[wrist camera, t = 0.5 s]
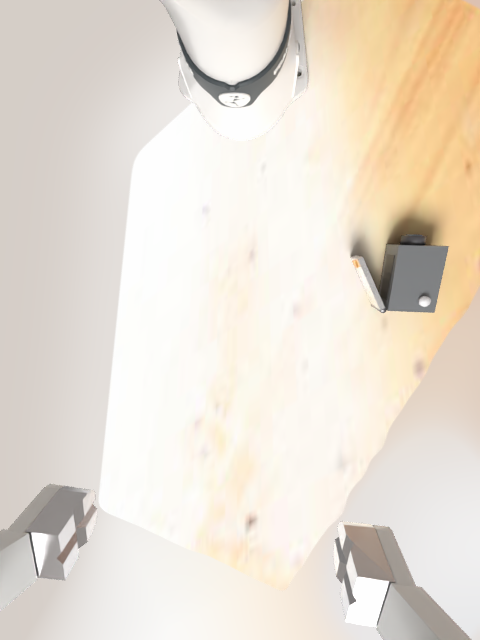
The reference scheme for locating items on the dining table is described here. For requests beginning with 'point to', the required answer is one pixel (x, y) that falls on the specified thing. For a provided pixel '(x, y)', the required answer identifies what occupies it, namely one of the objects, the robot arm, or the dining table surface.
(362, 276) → the side door
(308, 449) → the dining table surface
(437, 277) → the camera body
